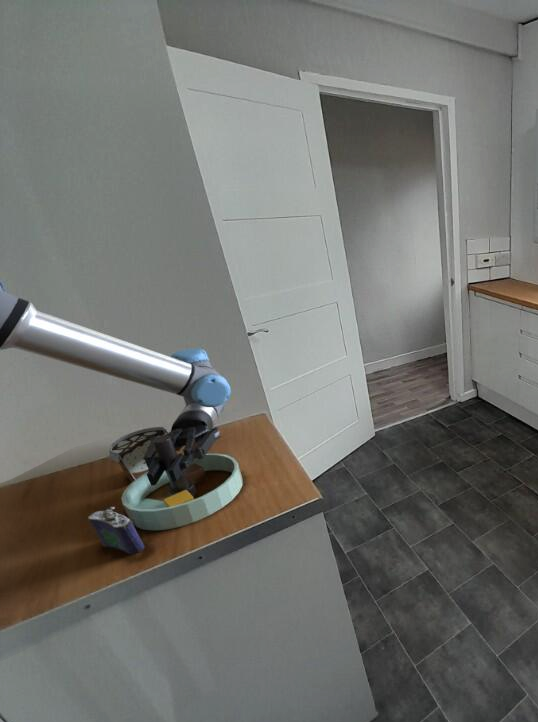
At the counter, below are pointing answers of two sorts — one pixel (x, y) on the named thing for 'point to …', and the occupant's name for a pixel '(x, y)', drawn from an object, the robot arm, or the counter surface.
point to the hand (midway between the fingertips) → (162, 477)
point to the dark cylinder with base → (167, 459)
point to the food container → (134, 451)
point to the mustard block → (178, 499)
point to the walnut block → (195, 474)
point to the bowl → (162, 517)
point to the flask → (116, 531)
